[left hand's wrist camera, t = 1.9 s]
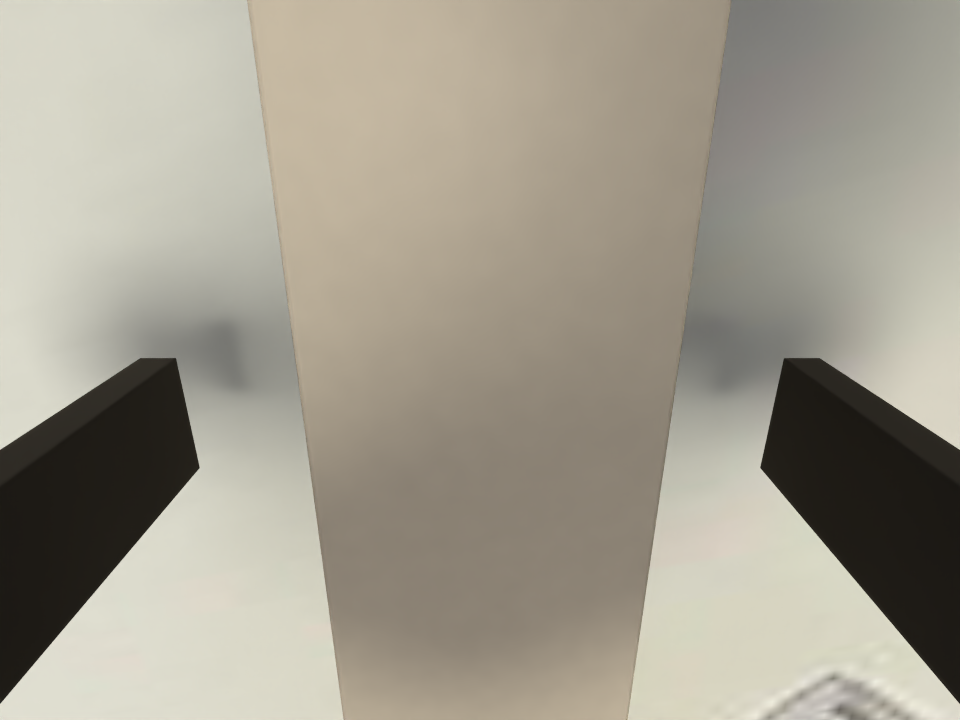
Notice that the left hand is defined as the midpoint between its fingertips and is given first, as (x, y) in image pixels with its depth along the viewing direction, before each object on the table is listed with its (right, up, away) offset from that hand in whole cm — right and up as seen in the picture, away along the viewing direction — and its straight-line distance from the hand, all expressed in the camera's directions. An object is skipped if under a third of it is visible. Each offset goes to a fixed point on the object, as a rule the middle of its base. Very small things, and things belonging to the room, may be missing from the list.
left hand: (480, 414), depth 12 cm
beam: (0, -20, +12) cm, 23 cm away
